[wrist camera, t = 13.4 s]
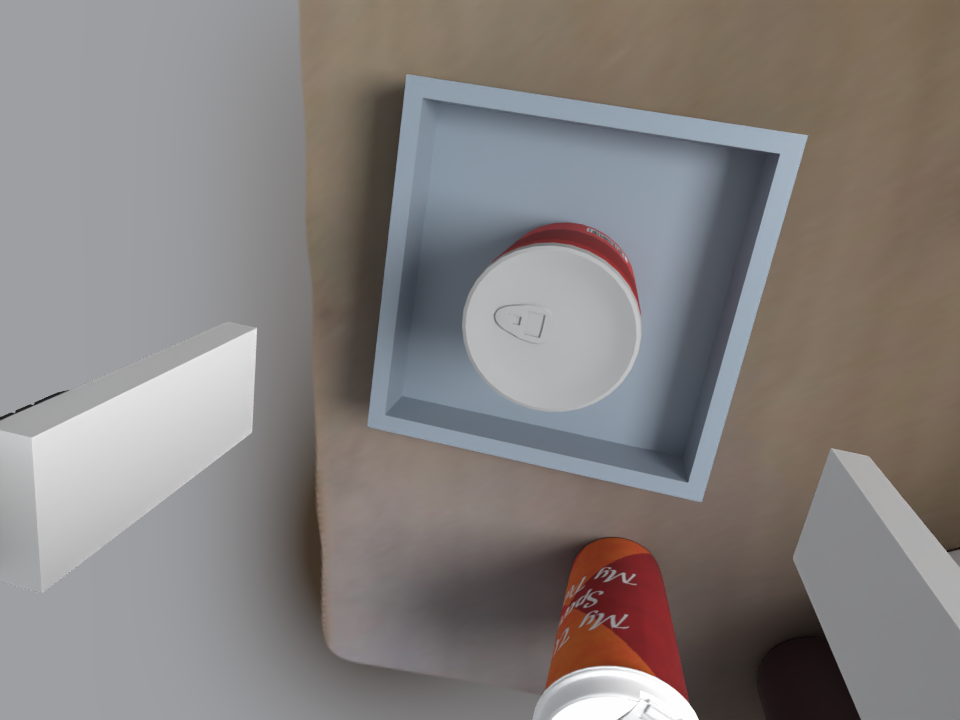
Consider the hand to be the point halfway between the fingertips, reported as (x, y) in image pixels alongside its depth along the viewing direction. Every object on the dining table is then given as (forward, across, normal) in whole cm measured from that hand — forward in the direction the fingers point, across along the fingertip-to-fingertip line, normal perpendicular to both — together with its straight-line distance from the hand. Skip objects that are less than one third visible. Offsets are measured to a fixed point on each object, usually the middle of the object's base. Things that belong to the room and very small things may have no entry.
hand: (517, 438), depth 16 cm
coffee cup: (+27, +6, -20) cm, 34 cm away
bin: (+27, 0, -2) cm, 27 cm away
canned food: (+26, 0, -2) cm, 26 cm away
